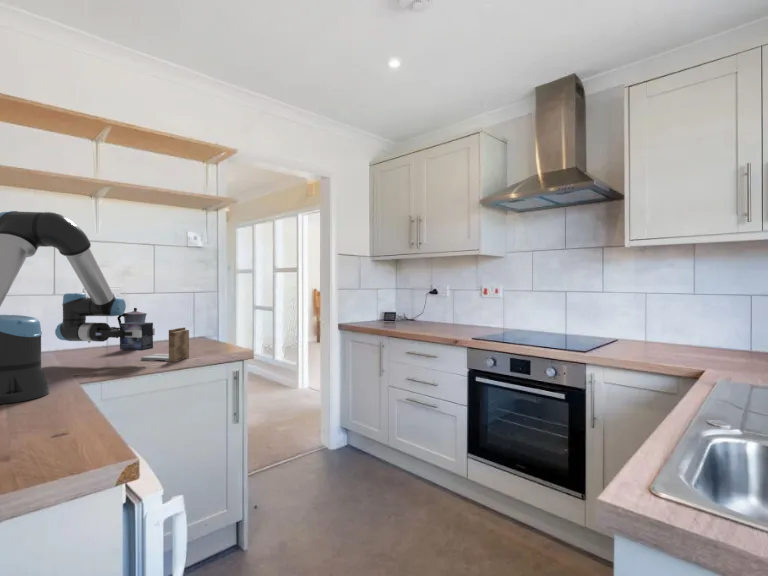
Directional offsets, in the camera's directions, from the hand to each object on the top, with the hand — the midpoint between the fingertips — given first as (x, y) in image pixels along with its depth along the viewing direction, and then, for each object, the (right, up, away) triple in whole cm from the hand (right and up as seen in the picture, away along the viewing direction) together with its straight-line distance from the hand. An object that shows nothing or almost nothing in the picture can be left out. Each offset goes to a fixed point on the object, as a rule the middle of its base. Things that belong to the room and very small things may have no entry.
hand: (147, 332), depth 163 cm
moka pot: (-29, -12, +38) cm, 50 cm away
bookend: (0, -13, +13) cm, 18 cm away
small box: (-5, -7, +1) cm, 8 cm away
